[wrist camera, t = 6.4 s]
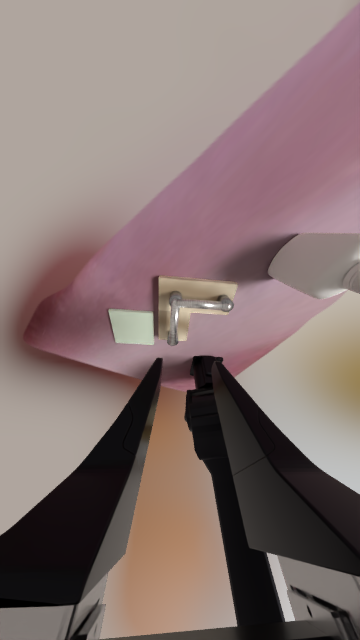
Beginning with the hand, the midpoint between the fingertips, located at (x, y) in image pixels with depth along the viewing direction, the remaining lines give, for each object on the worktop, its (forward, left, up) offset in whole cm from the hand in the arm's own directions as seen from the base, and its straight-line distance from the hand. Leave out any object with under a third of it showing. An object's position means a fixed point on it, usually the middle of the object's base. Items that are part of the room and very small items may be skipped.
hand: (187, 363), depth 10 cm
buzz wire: (-4, -2, -13) cm, 14 cm away
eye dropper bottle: (+6, -14, -13) cm, 20 cm away
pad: (-7, +8, -13) cm, 17 cm away
